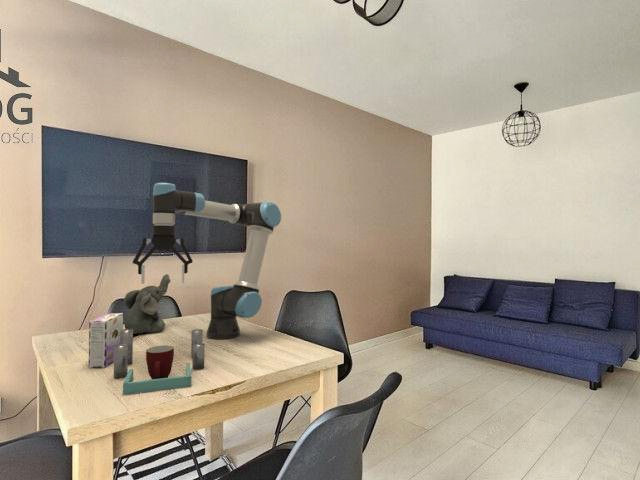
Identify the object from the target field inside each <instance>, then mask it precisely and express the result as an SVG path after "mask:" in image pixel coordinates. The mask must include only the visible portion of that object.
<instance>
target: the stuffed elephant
mask: <svg viewBox="0 0 640 480" xmlns="http://www.w3.org/2000/svg"><path fill="white" fill-rule="evenodd" d="M170 283H171V278H170V275H169V273H168V274H165V275H163V276H162V278H161V280H160V283H159V286H156V285H147V286H145V287H143V288H140V289H135V290H131V291H129V292H127V293H126V294H125V295H124V298H123V302H124V305H125V307H126V308H127V309H129V311H128V314H127V315H126V317H125V320H124V323H123V326H124V328H125V329H133V332H134V333H138V334H137V335H141V334H143V333H148V334H149V333H151V334H154V333H158V332H160V331H162V330H164V329H165V327H166V323H165V320H164V319H163V318H160V316H159V315H160V314H159V313H158V303H159V302H160V301H161V299H162V298H163V297H164V296H165V295H166V293H167V292H168V288H169V284H170Z"/></svg>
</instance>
